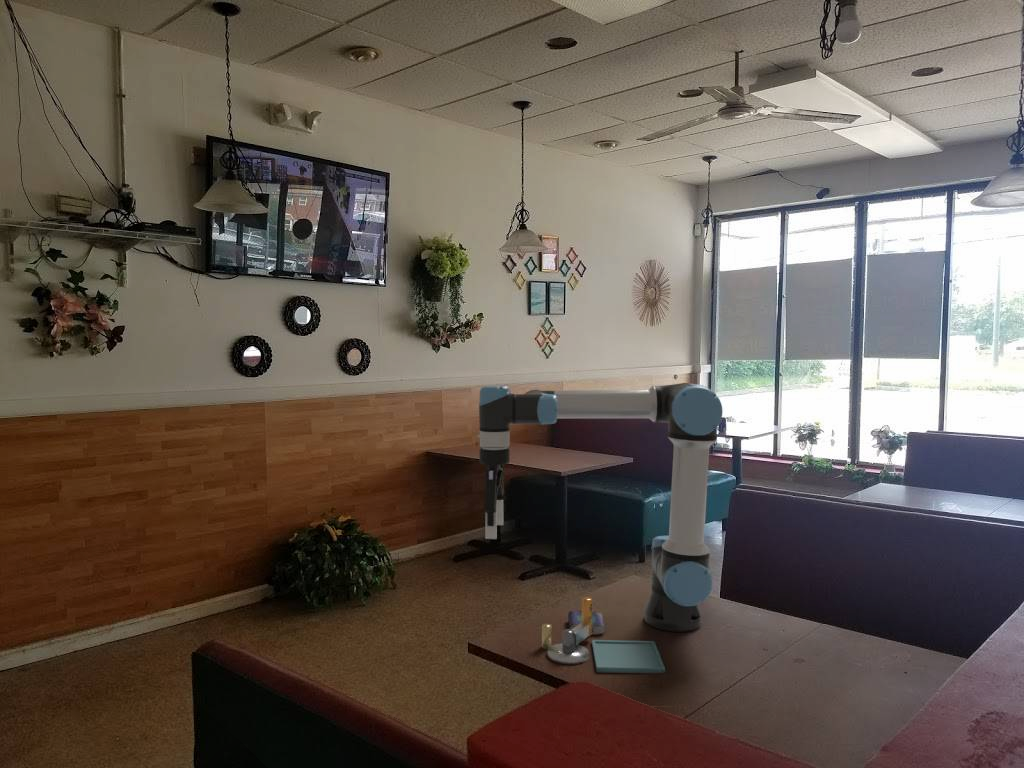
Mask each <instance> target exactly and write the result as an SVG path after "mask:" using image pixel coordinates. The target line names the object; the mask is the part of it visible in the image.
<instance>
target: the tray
mask: <svg viewBox="0 0 1024 768" xmlns="http://www.w3.org/2000/svg"><path fill="white" fill-rule="evenodd" d="M656 644H657V643H656V642H655V641H654V640H620V639H619V640H617V639H616V640H615V639H613V640H612V639H591V645H592V652H593V658H594V664H595V669H596V673H611V674H612V673H613V674H614V673H615V674H616V673H619V674H621V673H622V674H623V673H624V674H626V673H627V674H629V673H630V674H633V673H634V674H665V673H666V667H665V665H664V663H663V660H662V657H661V655H660V651H659V650H658V647H657V645H656Z"/></svg>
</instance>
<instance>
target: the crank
mask: <svg viewBox="0 0 1024 768" xmlns="http://www.w3.org/2000/svg"><path fill="white" fill-rule="evenodd" d="M581 611H582V623H580V624H579V625H578V626H576V627H575V628H573V629H572V630H574V645H577V644H578V645H580V643H581V642H582V641H584V640H585V639H587V638H588V637H589V636H590V637H591V636H592V635H593V634H592V612H593V598H592V597H588V596H584V597H581Z"/></svg>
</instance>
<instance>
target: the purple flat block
mask: <svg viewBox="0 0 1024 768" xmlns="http://www.w3.org/2000/svg"><path fill="white" fill-rule="evenodd" d="M567 615H568V617H567V619H568V629H573V628H575V627H576V626H578V625H579V624H580V623H582V610H580V611H579V610H573V609H571V610H570V611H568V614H567ZM605 630H606V629H605V625H604V619H603V614H602V613H601V612H599V611H592V635H602V634H603V633H604V632H605ZM588 637H589V638H590V637H591V635H590V636H588Z"/></svg>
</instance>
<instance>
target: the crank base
mask: <svg viewBox="0 0 1024 768" xmlns="http://www.w3.org/2000/svg"><path fill="white" fill-rule="evenodd" d="M552 626H553V625H552V624H550V623H543V624H542V625H541V648H542V649H544V650H547V657H548V659H549V660H551V662H552V661H553V662H555V663H557V664H562V665H579V664H582V663H585V662H587V661H588V660H589V658H590V650H589V649H588V648H587V647H586V646H583V645H581V644H577V645H574V630H572V629H570V628H566V629H562V643H556V644H552Z"/></svg>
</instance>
